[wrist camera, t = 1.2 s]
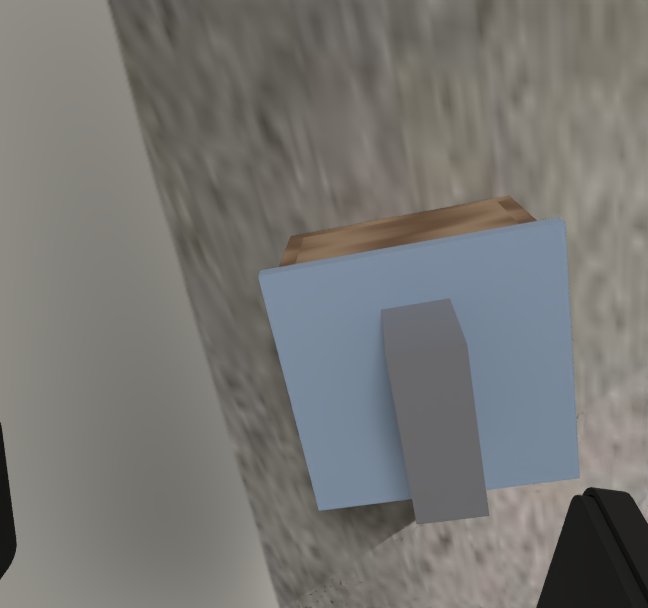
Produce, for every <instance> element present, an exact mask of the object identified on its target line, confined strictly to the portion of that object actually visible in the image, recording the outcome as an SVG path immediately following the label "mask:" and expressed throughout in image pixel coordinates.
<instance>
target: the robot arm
mask: <svg viewBox="0 0 648 608" xmlns="http://www.w3.org/2000/svg"><path fill="white" fill-rule="evenodd" d="M16 546H17V544H16V534H15V526H14V518H13V511H12V503H11V496H10V488H9V480H8V473H7V465H6V457H5V449H4V442H3V433H2V427H1V423H0V579H1V578H2V576H3V575H4V573H5V572H6V571H7V569H8V568H9V566H10V565H11V563H12V560H13V558H14V555H15V552H16ZM536 608H648V523H647V522H646V520H645V518H644V516H643V515H642V513H641V511H640V510H639V508H638V506H637V505H636V503H635V501H634V500H633V498H632V497H631V496H630V494H629V493H627V492H623V491H616V490H608V489H600V488H593V487H590V488H587V489H586V490H585V491H584V493H583V495H575V496H574V497H573V498H572V500H571V503H570V506H569V509H568V512H567V515H566V518H565V521H564V524H563V527H562V531H561V534H560V537H559V540H558V543H557V546H556V549H555V552H554V555H553V558H552V561H551V564H550V567H549V571H548V574H547V577H546V580H545V583H544V586H543V589H542V592H541V595H540V598H539V601H538V604H537V607H536Z"/></svg>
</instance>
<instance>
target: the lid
mask: <svg viewBox="0 0 648 608" xmlns="http://www.w3.org/2000/svg"><path fill="white" fill-rule="evenodd" d="M258 278H259V282H260V286H261V289H262V293H263V297H264V301H265V305H266V309H267V313H268V316H269V320H270V324H271V328H272V332H273V336H274V340H275V343H276V347H277V351H278V355H279V359H280V363H281V366H282V370H283V374H284V378H285V382H286V386H287V390H288V393H289V397H290V401H291V405H292V409H293V413H294V417H295V420H296V424H297V428H298V432H299V436H300V440H301V443H302V447H303V451H304V455H305V459H306V463H307V467H308V470H309V474H310V478H311V482H312V486H313V490H314V494H315V497H316V501H317V505H318V509H319V511H321V510H329V509H337V508H345V507H353V506H361V505H369V504H377V503H385V502H393V501H401V500H409V499H412V502H413V507H414V513H415V518H416V523H417V524H425V523H433V522H442V521H450V520H458V519H467V518H475V517H483V516H489V510H488V502H487V494H486V490H489V489H497V488H505V487H513V486H521V485H529V484H537V483H545V482H553V481H561V480H569V479H577V478H580V474H579V456H578V438H577V421H576V403H575V385H574V368H573V350H572V332H571V315H570V297H569V279H568V262H567V244H566V226H565V221H564V220H562V219H561V218H560V217H556V218H551V219H545V220H540V221H534V222H528V223H523V224H517V225H512V226H506V227H500V228H495V229H489V230H484V231H478V232H473V233H467V234H461V235H456V236H450V237H445V238H439V239H434V240H428V241H422V242H417V243H411V244H406V245H400V246H394V247H389V248H383V249H378V250H372V251H367V252H361V253H355V254H350V255H344V256H339V257H333V258H327V259H322V260H316V261H311V262H305V263H300V264H294V265H288V266H283V267H277V268H272V269H266V270H261V271H260V273H259V276H258Z"/></svg>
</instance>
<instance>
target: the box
mask: <svg viewBox="0 0 648 608" xmlns="http://www.w3.org/2000/svg"><path fill="white" fill-rule="evenodd" d="M534 221H537V220H536V219H534V218H533V217H532V216H531V215H530V214H529V213H528V212H527V211H526V210H524V209H523V208H522V207H521V206H520V205H519V204H518V203H517V202H516V201H514V200H513V199H512V198H511V197H510V196H506V197H500V198H495V199H490V200H484V201H479V202H473V203H468V204H463V205H457V206H452V207H446V208H441V209H436V210H430V211H425V212H419V213H414V214H409V215H403V216H398V217H392V218H387V219H382V220H376V221H371V222H366V223H360V224H355V225H349V226H344V227H339V228H333V229H328V230H322V231H317V232H312V233H306V234H301V235H295V236H291V237H290V240H289V242H288V245H287V248H286V250H285V253H284V255H283V258H282V260H281V263H280V265H279V267H283V266H288V265H294V264H300V263H305V262H311V261H316V260H322V259H327V258H333V257H339V256H344V255H350V254H355V253H361V252H367V251H372V250H378V249H383V248H389V247H394V246H400V245H406V244H411V243H417V242H422V241H428V240H434V239H439V238H445V237H450V236H456V235H461V234H467V233H473V232H478V231H484V230H489V229H495V228H500V227H506V226H512V225H517V224H523V223H528V222H534Z"/></svg>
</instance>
